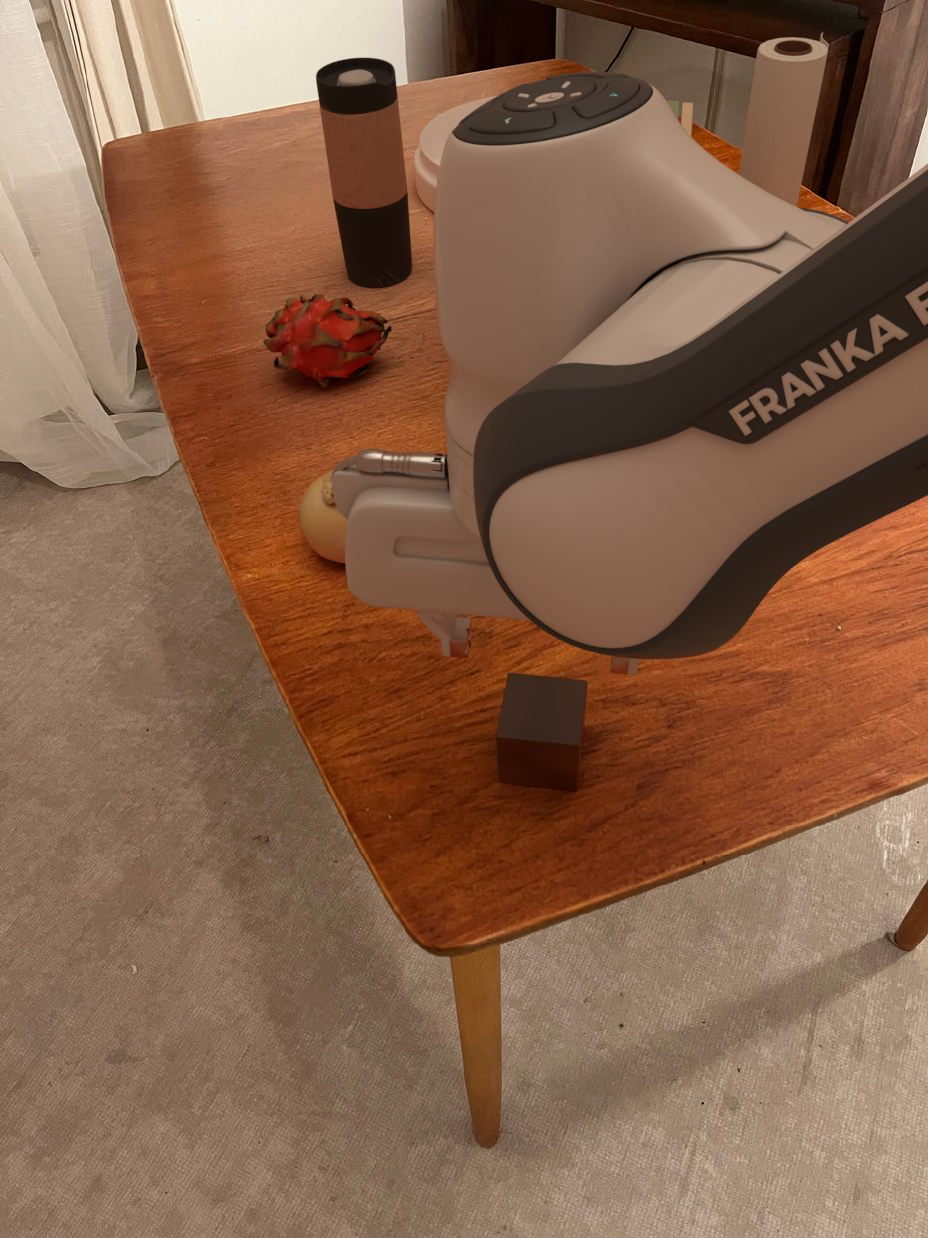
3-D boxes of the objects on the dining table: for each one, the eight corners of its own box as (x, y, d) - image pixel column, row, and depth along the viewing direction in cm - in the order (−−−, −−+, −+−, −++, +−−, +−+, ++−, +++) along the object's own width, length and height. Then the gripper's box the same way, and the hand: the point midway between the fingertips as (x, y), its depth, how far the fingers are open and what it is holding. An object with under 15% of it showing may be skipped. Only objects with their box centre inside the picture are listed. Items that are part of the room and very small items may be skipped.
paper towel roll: (736, 291, 100) (774, 61, 84) (715, 262, 104) (747, 38, 88) (803, 280, 100) (854, 51, 85) (779, 252, 104) (823, 29, 89)
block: (584, 727, 64) (587, 680, 61) (577, 792, 61) (580, 746, 57) (509, 719, 65) (507, 671, 61) (498, 782, 62) (495, 736, 58)
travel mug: (337, 261, 108) (307, 64, 93) (404, 248, 109) (384, 51, 95) (353, 294, 103) (323, 91, 88) (423, 280, 104) (405, 77, 90)
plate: (612, 244, 108) (615, 194, 104) (383, 220, 114) (378, 173, 110) (657, 143, 125) (661, 97, 121) (456, 127, 131) (453, 83, 127)
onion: (300, 518, 80) (284, 449, 75) (396, 500, 81) (386, 430, 75) (312, 586, 74) (295, 517, 69) (414, 566, 75) (405, 496, 70)
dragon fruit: (265, 391, 95) (388, 388, 97) (265, 386, 87) (400, 383, 89) (259, 299, 93) (384, 298, 96) (259, 285, 85) (396, 285, 87)
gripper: (307, 490, 45) (347, 681, 55) (771, 526, 42) (722, 721, 52) (342, 408, 49) (373, 600, 59) (765, 435, 46) (721, 632, 56)
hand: (539, 657), depth 55 cm, fingers open, 8 cm apart
